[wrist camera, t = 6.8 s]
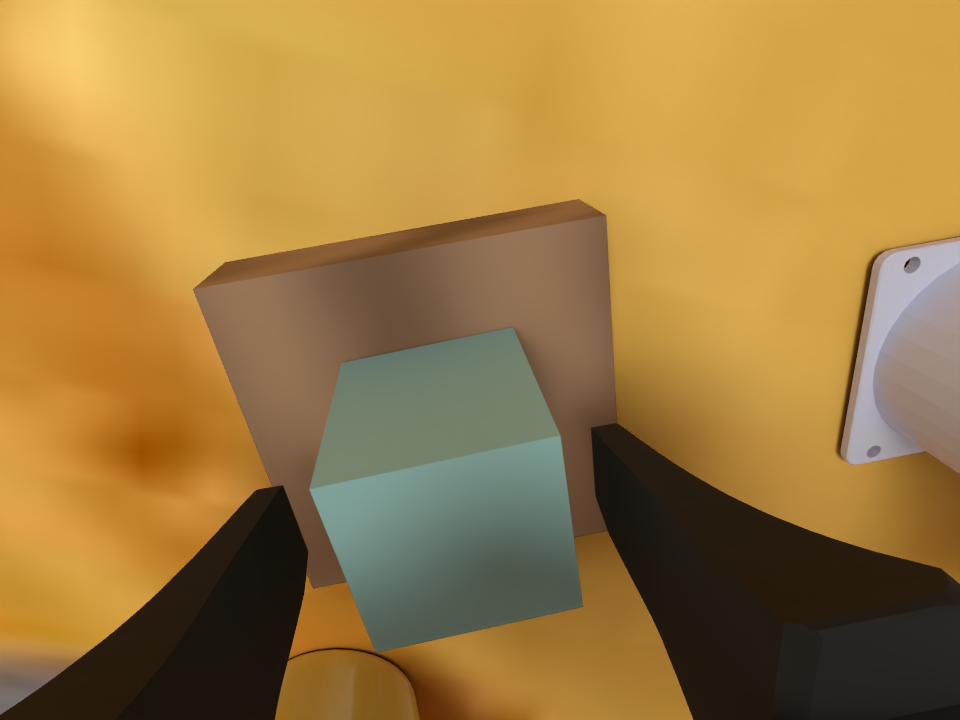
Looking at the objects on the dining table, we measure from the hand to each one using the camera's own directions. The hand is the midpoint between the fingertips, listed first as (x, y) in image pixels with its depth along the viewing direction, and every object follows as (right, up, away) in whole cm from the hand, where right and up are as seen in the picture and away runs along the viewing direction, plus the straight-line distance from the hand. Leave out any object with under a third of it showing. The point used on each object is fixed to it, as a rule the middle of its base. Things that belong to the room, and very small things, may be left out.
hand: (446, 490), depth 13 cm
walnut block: (-1, +2, +5) cm, 6 cm away
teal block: (0, +1, +2) cm, 3 cm away
